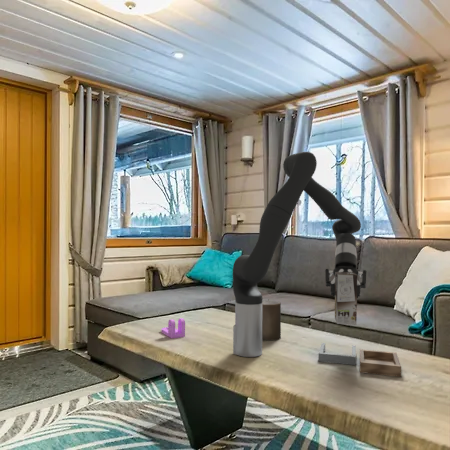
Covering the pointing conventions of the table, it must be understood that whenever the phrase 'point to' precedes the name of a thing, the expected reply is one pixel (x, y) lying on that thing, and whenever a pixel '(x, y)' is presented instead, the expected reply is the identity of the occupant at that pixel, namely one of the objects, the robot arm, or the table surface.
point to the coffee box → (346, 298)
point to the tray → (380, 363)
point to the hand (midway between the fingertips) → (345, 295)
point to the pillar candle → (271, 320)
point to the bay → (337, 356)
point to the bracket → (174, 329)
